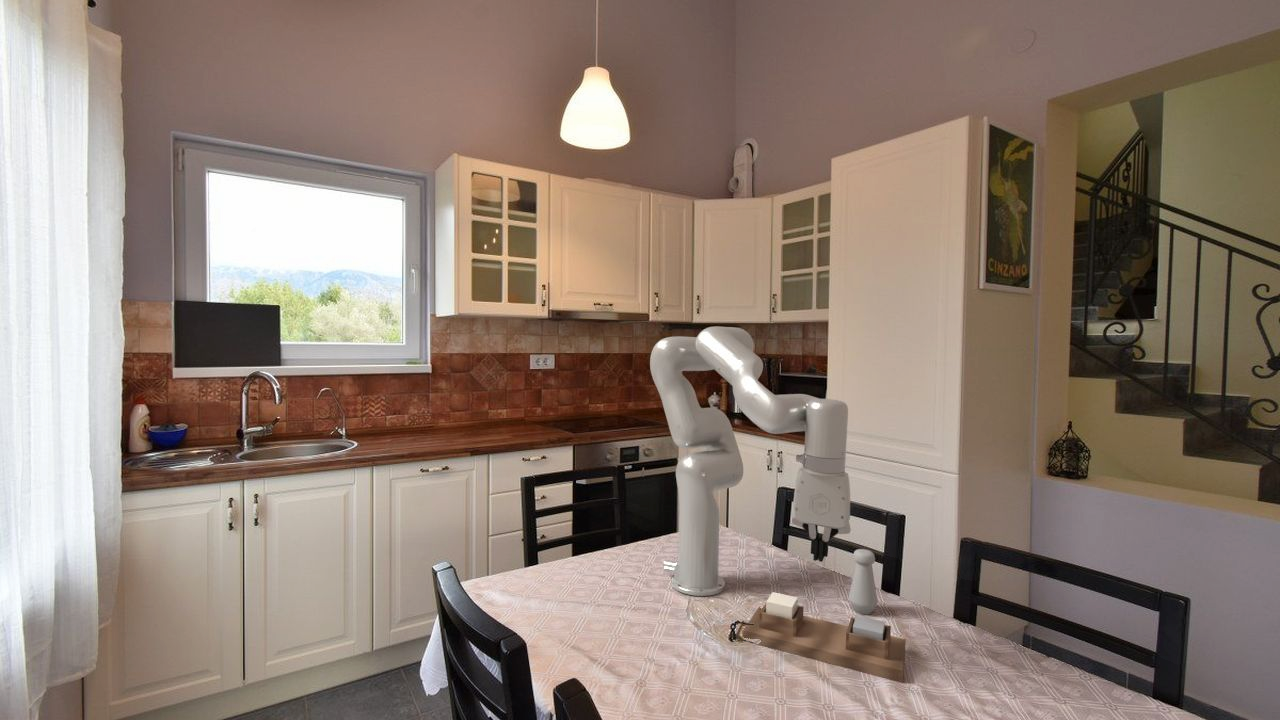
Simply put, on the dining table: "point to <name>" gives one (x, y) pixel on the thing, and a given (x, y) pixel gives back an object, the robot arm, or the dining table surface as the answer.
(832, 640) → the key panel
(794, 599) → the cream key
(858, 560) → the salt shaker
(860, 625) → the grey key
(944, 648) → the dining table surface
